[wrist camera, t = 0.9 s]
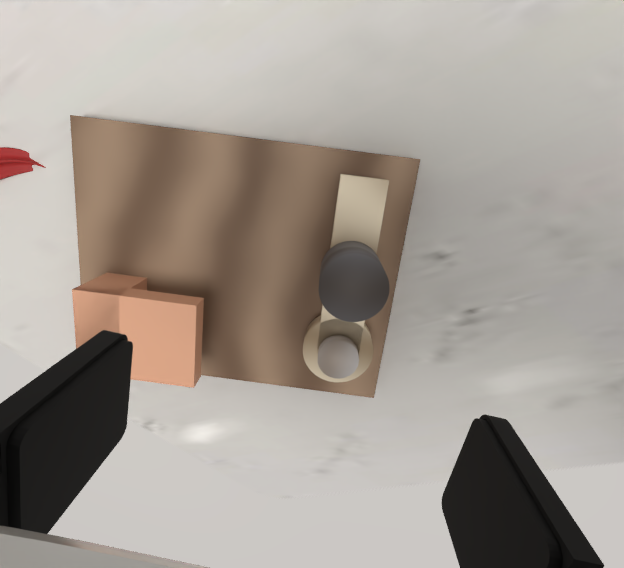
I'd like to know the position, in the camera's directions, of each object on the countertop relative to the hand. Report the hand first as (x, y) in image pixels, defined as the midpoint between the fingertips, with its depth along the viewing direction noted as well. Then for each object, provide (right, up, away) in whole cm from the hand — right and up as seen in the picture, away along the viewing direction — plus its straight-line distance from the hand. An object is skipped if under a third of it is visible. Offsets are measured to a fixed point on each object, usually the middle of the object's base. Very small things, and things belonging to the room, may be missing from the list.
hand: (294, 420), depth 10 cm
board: (-5, +5, +19) cm, 20 cm away
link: (+3, +4, +17) cm, 18 cm away
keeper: (-11, +1, +19) cm, 22 cm away
